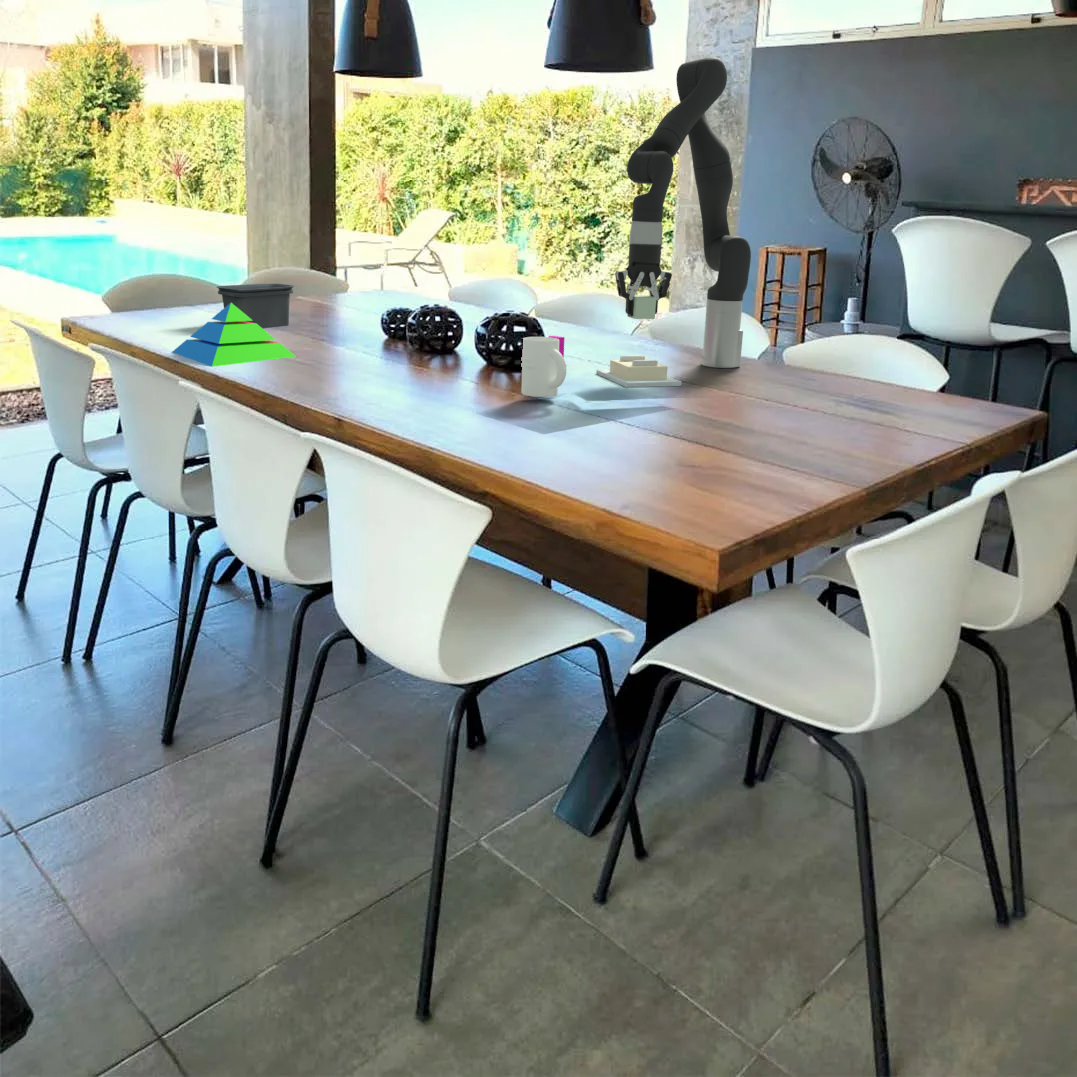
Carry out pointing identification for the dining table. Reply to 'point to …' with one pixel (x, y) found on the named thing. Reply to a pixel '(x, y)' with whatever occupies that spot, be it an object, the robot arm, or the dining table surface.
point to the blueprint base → (638, 382)
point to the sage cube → (644, 307)
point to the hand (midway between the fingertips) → (641, 315)
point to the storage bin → (260, 302)
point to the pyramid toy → (231, 341)
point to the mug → (542, 367)
